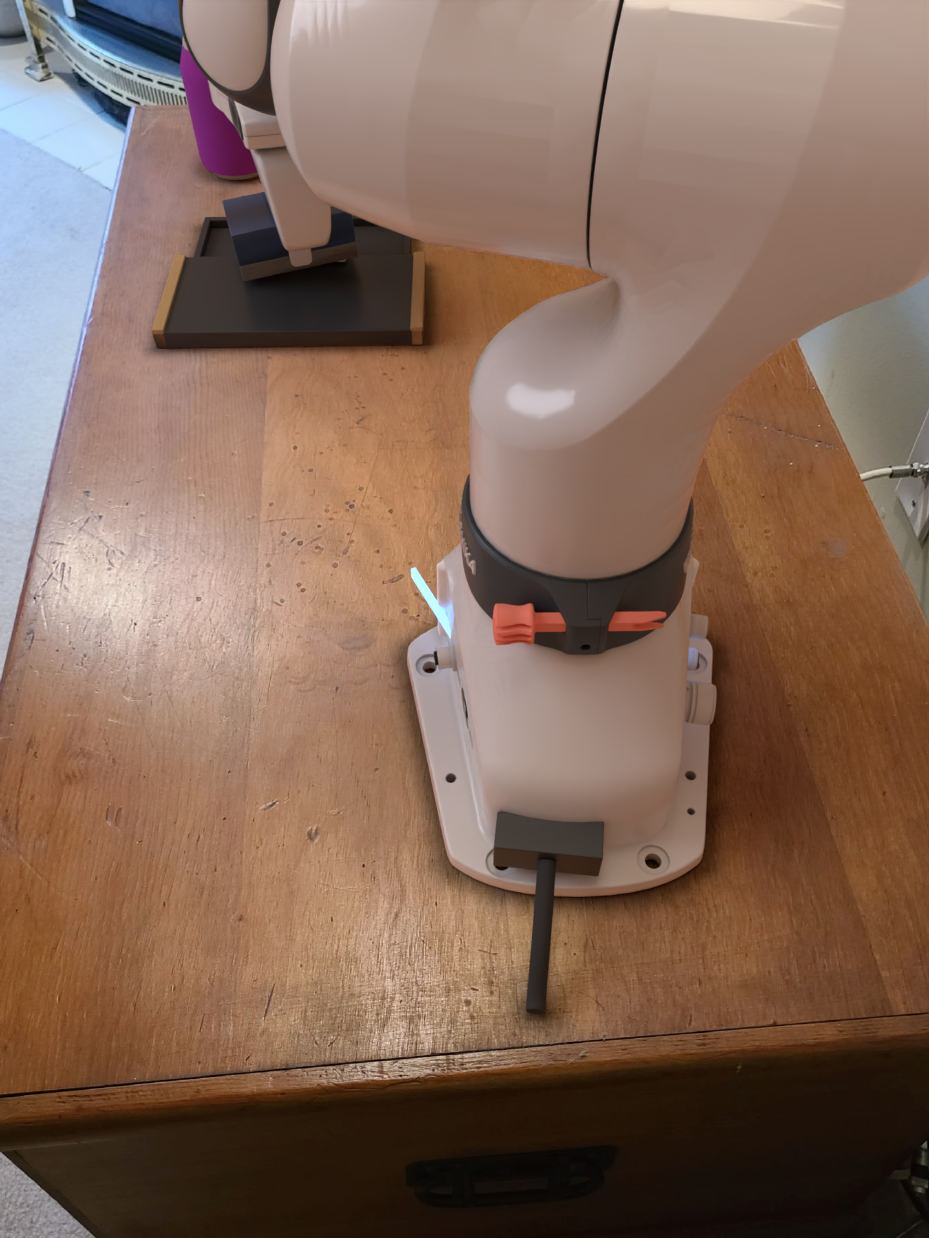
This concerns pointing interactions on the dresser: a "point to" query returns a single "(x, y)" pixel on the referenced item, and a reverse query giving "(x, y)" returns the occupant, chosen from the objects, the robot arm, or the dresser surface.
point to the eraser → (262, 242)
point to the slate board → (293, 304)
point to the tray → (367, 234)
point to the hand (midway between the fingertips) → (293, 241)
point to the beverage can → (213, 127)
